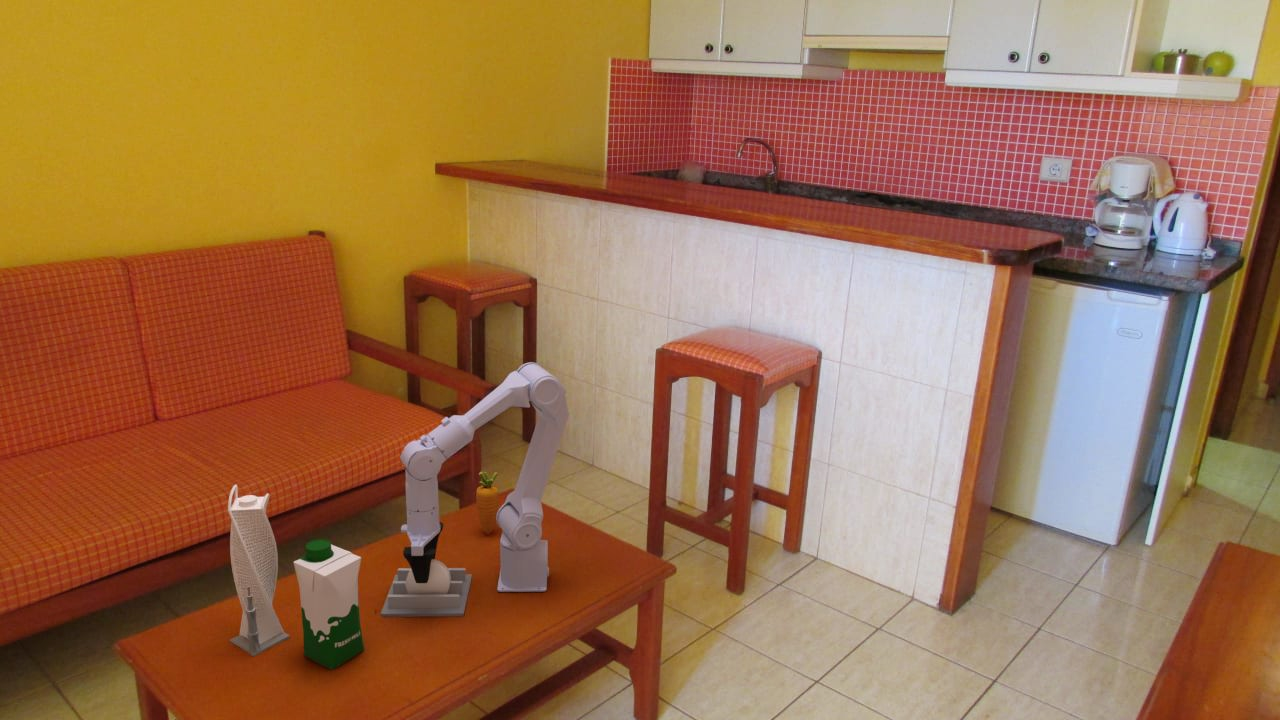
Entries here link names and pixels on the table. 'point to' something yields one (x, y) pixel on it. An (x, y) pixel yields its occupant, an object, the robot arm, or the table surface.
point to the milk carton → (329, 603)
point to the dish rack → (427, 597)
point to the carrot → (487, 502)
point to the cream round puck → (430, 580)
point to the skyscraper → (254, 573)
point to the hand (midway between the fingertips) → (425, 571)
